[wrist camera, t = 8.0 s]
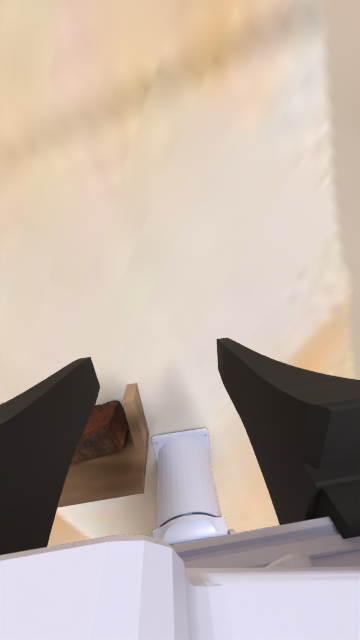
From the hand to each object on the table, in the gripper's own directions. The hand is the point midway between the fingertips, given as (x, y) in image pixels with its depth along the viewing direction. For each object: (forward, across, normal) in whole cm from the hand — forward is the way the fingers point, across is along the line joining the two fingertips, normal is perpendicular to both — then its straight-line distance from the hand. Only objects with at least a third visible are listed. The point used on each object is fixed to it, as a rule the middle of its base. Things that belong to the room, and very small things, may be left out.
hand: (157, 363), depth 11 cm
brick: (+11, +12, +14) cm, 21 cm away
